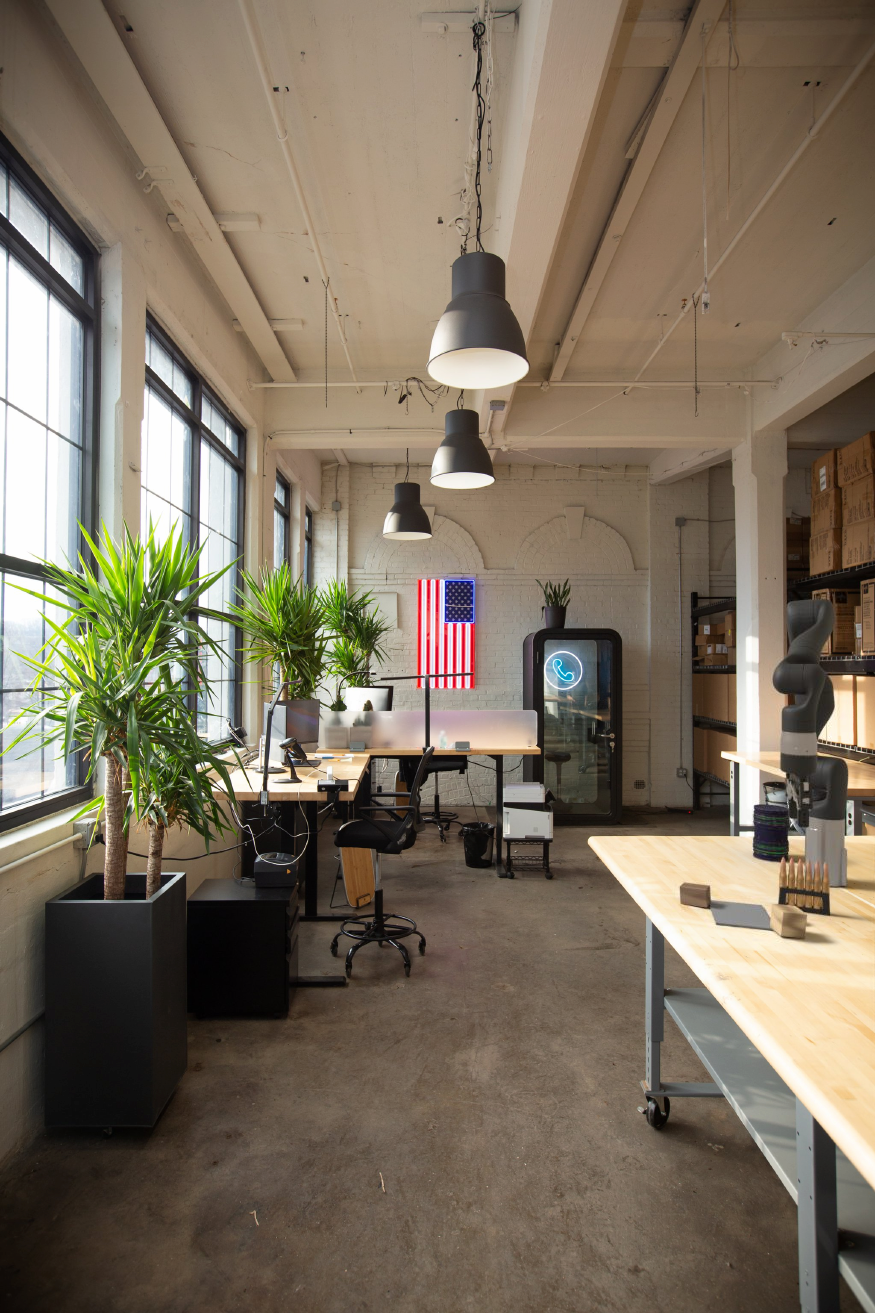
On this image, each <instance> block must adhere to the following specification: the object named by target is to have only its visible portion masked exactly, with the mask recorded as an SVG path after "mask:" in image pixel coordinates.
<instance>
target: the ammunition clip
mask: <svg viewBox="0 0 875 1313" xmlns="http://www.w3.org/2000/svg"><path fill="white" fill-rule="evenodd" d="M794 861H795V860H794V859H793V857H791V858H790V859H789V863H788V864H789V865H788V874H787V863H786V862H787V861H786V862H785V858H784V857H783V858H782V860H781V862H780V869H779V870H780V871H779V877H778V880H779V881H778V902H777V904H781V905H790V906H796V907H797V908H799V909H800V910H802V911H803V912H804V913H806V914H813V915H821V916H826V917H828V916H829V917H830V916H831V902H830V901H831V900H830V893H831V892H830V890H831V889H830V888H831V886H830V881H829V869H828V864H827V862H825V864H824V867H823V876H822V885H821V878H820V866H819V862H818V861H816V864H815V869H814V878H813V879H812V868H811V863H810V860H808V862H807V865H806V874H805V873H804V865H803V861H802V859H801V858H799V860H798V863H797V871H796V872H795V867H796V866H795V862H794Z"/></svg>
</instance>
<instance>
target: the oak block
mask: <svg viewBox="0 0 875 1313" xmlns="http://www.w3.org/2000/svg"><path fill="white" fill-rule="evenodd" d="M807 920H808V913H805V912H803V911H802V910H800V909H799V908H797V907H796V906H790V905H781V904H778V903H771V912H770V927H771V928H772V929H773V930H774V931H775V933H776V934H778V935H779V936H780V937H787V938H798V939H806V931H807V930H806V929H807ZM774 931H773V932H774Z"/></svg>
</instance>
